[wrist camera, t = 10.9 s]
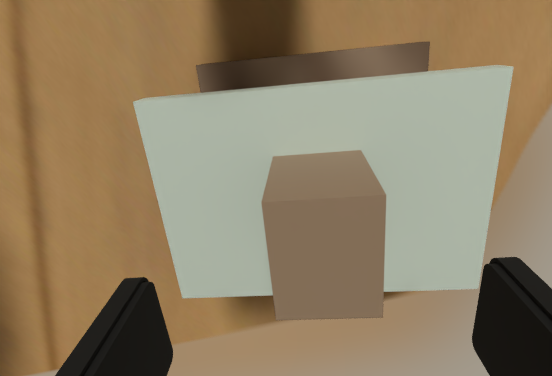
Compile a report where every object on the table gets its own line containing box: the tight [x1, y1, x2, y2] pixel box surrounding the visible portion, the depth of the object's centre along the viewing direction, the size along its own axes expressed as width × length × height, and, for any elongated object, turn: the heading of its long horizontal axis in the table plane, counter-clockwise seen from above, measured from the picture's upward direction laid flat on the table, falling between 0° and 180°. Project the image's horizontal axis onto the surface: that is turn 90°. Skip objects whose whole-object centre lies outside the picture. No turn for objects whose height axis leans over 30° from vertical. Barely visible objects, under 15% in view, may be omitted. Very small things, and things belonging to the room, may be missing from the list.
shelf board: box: [133, 65, 513, 320], centre depth 15 cm, size 16×11×6 cm
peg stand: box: [196, 42, 430, 93], centre depth 22 cm, size 16×13×10 cm
